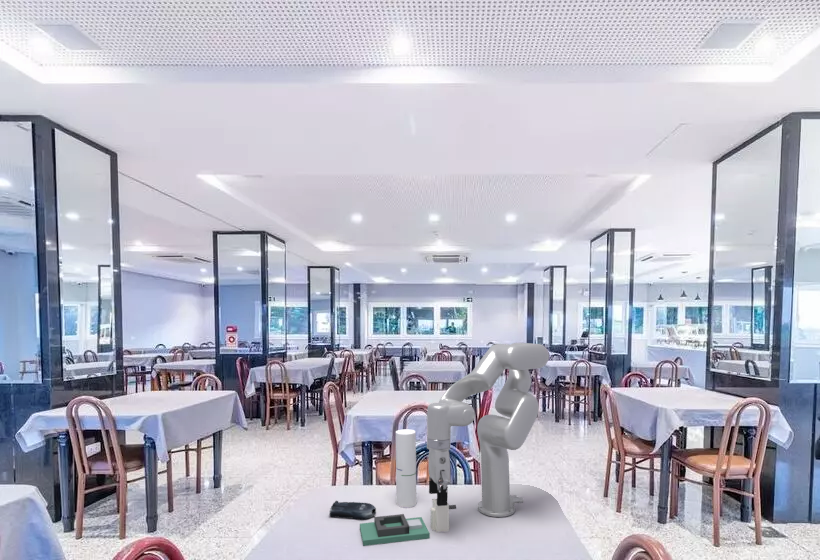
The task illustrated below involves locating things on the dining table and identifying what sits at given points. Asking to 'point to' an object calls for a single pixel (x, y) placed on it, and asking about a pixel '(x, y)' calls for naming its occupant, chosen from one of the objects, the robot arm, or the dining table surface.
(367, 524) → the circuit board
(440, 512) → the keyed plug
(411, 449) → the cylindrical container
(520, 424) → the robot arm
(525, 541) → the dining table surface
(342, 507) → the electronic device
